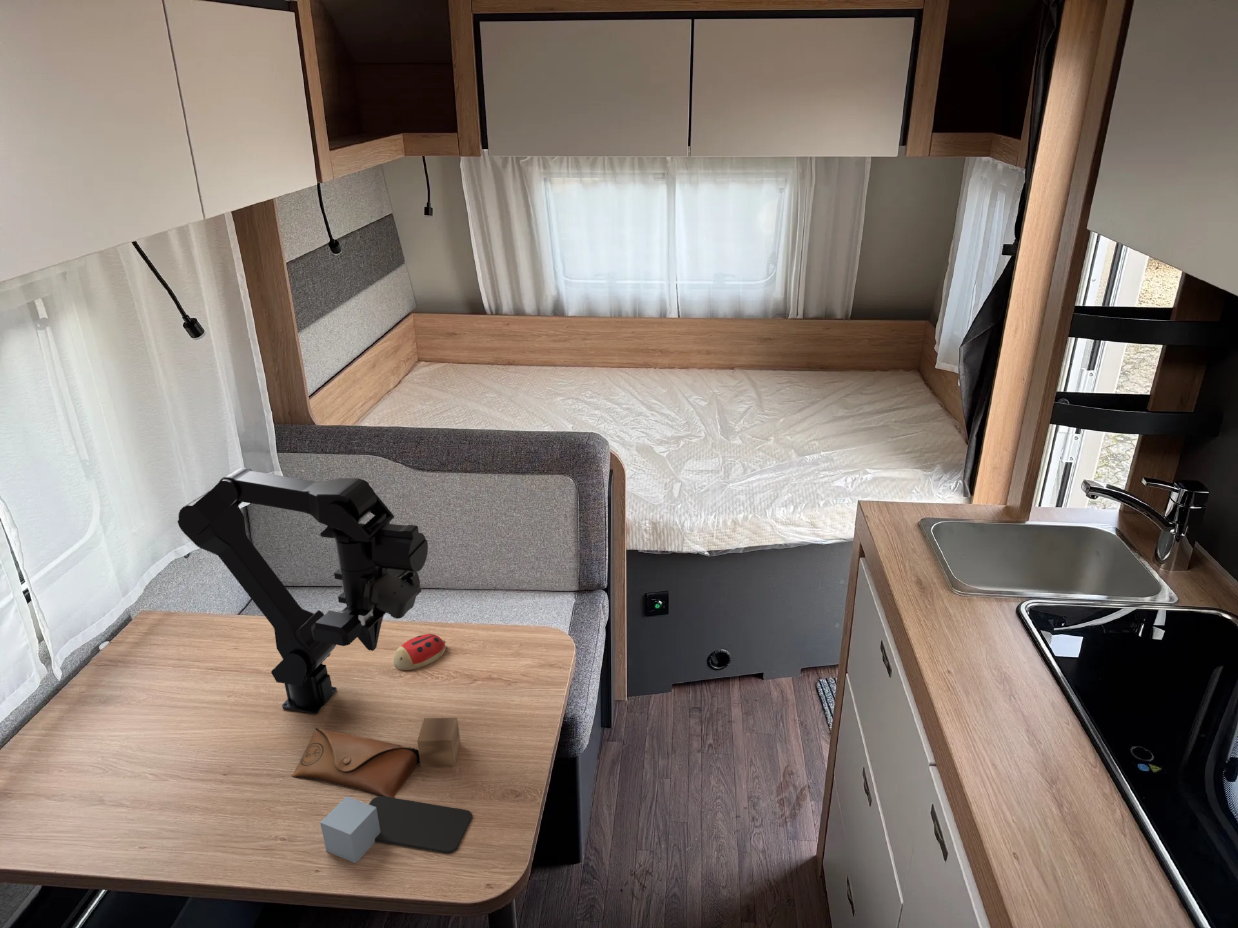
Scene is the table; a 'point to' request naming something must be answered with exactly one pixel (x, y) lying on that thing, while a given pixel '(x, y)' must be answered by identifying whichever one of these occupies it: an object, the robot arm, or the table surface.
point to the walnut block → (438, 742)
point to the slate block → (350, 829)
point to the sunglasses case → (357, 762)
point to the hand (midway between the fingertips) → (372, 649)
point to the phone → (420, 824)
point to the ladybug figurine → (419, 652)
